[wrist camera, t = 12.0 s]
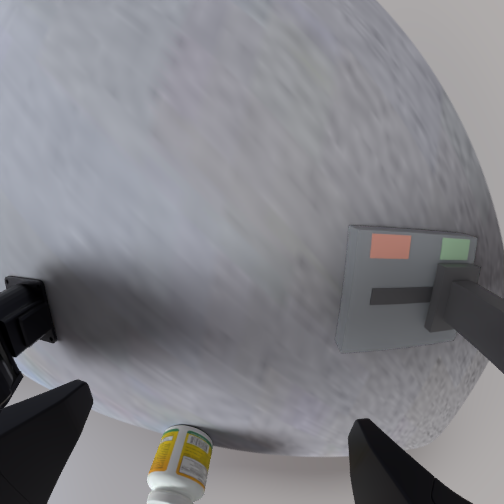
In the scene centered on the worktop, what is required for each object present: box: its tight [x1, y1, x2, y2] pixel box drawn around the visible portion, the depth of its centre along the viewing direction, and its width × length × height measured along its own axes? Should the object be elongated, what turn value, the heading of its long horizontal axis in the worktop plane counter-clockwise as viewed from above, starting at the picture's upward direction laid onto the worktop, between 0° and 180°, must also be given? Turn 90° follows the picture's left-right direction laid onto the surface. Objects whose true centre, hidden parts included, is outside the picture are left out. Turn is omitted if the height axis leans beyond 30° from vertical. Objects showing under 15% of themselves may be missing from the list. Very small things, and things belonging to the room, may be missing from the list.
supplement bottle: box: [147, 425, 213, 504], centre depth 19 cm, size 5×5×10 cm
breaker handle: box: [424, 263, 504, 374], centre depth 12 cm, size 4×5×11 cm
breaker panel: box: [335, 225, 477, 353], centre depth 19 cm, size 11×9×2 cm
